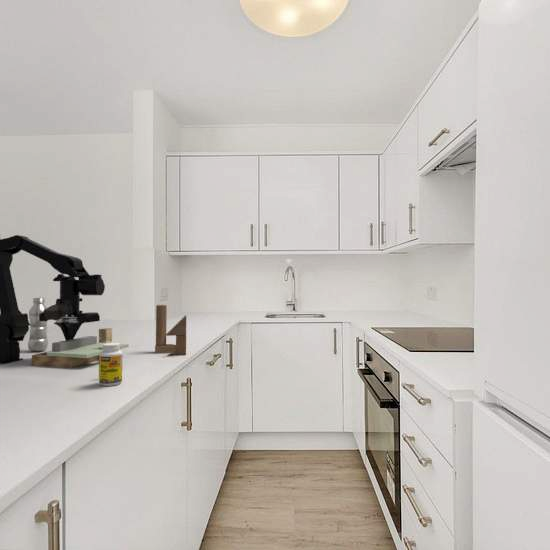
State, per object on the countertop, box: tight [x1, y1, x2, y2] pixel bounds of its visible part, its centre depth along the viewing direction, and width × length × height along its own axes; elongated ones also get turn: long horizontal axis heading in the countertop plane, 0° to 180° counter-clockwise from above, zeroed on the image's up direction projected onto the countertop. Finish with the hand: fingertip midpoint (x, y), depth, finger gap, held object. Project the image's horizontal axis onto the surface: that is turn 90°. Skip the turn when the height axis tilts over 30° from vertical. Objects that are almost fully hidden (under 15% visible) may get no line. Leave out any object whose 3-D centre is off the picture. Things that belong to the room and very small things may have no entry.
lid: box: [46, 335, 130, 358], centre depth 123 cm, size 14×20×4 cm
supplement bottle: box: [98, 342, 124, 387], centre depth 99 cm, size 6×6×10 cm
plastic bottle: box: [27, 297, 49, 353], centre depth 145 cm, size 6×7×20 cm
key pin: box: [98, 327, 113, 343], centre depth 142 cm, size 3×3×9 cm
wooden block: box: [154, 304, 187, 357], centre depth 139 cm, size 4×11×18 cm, turn 104°
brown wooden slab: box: [31, 350, 99, 369], centre depth 124 cm, size 14×20×4 cm
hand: (69, 343), depth 125 cm, fingers closed
